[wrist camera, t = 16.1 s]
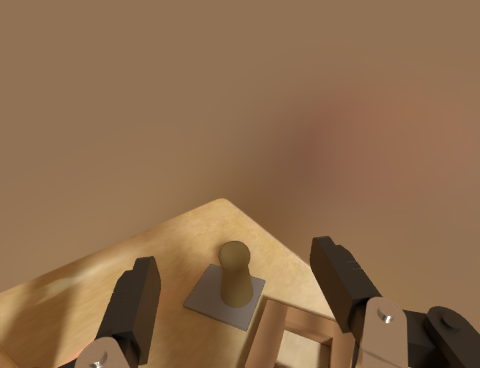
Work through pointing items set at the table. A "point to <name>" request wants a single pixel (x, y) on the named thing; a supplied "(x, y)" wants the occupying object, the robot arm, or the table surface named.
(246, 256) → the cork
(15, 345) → the table surface
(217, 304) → the rubber mat
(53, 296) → the table surface
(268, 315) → the socket block
